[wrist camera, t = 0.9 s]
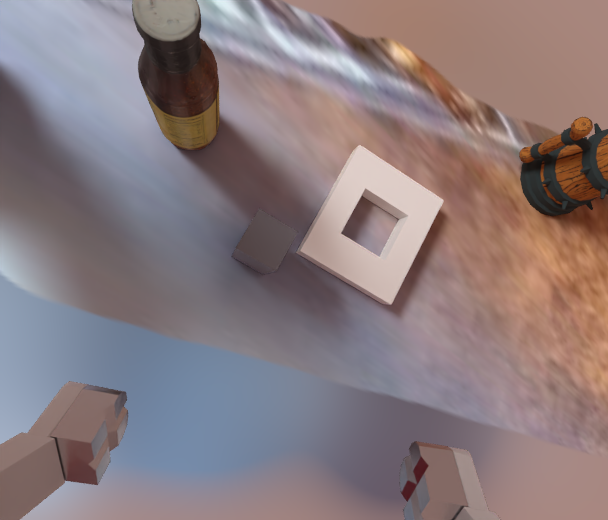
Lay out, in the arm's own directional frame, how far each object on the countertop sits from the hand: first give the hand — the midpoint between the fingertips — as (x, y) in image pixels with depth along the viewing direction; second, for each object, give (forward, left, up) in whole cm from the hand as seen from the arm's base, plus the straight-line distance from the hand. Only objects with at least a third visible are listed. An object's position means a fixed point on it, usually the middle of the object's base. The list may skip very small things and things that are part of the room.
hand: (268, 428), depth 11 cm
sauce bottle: (-15, +16, -33) cm, 40 cm away
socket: (+8, +17, -33) cm, 38 cm away
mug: (+26, +36, -33) cm, 56 cm away
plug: (-2, +8, -33) cm, 34 cm away
